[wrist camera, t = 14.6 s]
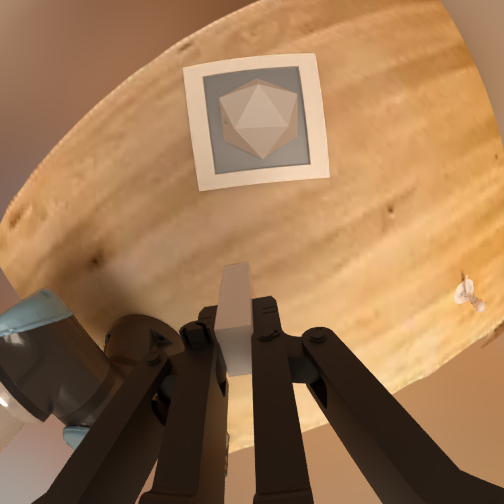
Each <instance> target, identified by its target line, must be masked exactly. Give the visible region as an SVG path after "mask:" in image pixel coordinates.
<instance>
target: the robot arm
mask: <svg viewBox="0 0 504 504" xmlns="http://www.w3.org/2000/svg"><path fill="white" fill-rule="evenodd" d="M73 314H74V312H73V311H72V310H70V309H69V308H68V307H67V306H66V304H65V303H64V302H63V301H62V299H61V298H60V297H59V295H58V294H57V293H56V292H55V291H54V290H52V289H49V288H42V289H40V290H38V291H36V292H35V293H33V294H31V295H30V296H28V297H27V298H25V299H23V300H22V301H20V302H19V303H17V304H16V305H14V306H13V307H11V308H10V309H8V310H7V311H5V312H4V313H2V314H1V315H0V453H1V452H2V451H3V449H4V448H5V447H6V446H7V444H8V443H9V442H10V441H11V440H12V439H13V437H14V436H15V435H16V434H17V433H18V431H19V430H20V429H21V428H22V427H23V426H24V424H25V423H27V422H32V423H43V422H45V420H46V419H47V418H48V417H49V416H50V415H51V414H54V415H55V416H56V417H57V418H58V419H59V420H60V421H62V422H63V423H64V424H65V426H66V427H65V428H64V429H63V439H64V440H65V441H66V443H67V444H68V445H69V446H70V447H71V448H72V449H74V450H75V451H74V453H73V454H72V455H71V457H70V458H69V460H68V461H67V463H66V464H65V466H64V467H63V469H62V470H61V472H60V473H59V474H58V476H57V478H56V479H55V481H54V482H53V484H52V485H51V486H50V488H49V490H48V491H47V493H45V494H44V495H42V496H41V497H40V498H38V499H37V500H35V501H34V502H33V503H32V504H135V502H136V500H137V498H138V496H139V494H140V492H141V490H142V488H143V486H144V484H145V482H146V480H147V478H148V476H149V474H150V473H151V470H152V469H153V467H154V464H155V463H156V461H157V459H158V462H157V467H156V471H155V476H154V481H153V486H152V489H151V490H150V491H148V492H145V493H143V494H142V495H141V497H140V500H139V503H138V504H224V491H225V490H224V489H225V460H226V433H227V410H228V388H229V384H228V381H227V378H226V371H227V372H228V375H229V377H231V376H239V375H247V374H252V387H253V417H254V446H255V473H256V494H255V495H254V498H253V504H314V501H313V495H312V490H311V487H310V481H309V475H308V469H307V463H306V457H305V452H304V446H303V440H302V434H301V429H300V423H299V417H298V412H297V406H296V401H295V395H294V390H293V384H292V383H306V386H307V388H308V389H309V391H310V393H311V394H312V396H313V397H314V399H315V401H316V402H317V404H318V405H319V407H320V409H321V410H322V412H323V413H324V415H325V416H326V418H327V420H328V421H329V423H330V424H331V426H332V427H333V429H334V430H335V432H336V434H337V435H338V437H339V438H340V440H341V441H342V443H343V445H344V446H345V448H346V449H347V451H348V452H349V454H350V455H351V457H352V458H353V460H354V461H355V463H356V464H357V466H358V467H359V469H360V470H361V472H362V473H363V475H364V476H365V478H366V479H367V481H368V483H369V484H370V485H371V487H372V488H373V490H374V491H375V493H376V494H377V496H378V497H379V498H380V500H381V502H382V503H383V504H504V488H502V487H499V486H497V485H494V484H491V483H489V482H487V481H484V480H481V479H479V478H477V477H475V476H473V475H470V474H468V473H466V472H464V471H461V470H459V468H458V467H457V466H456V465H455V464H454V463H453V462H452V461H451V459H450V458H449V457H448V456H447V455H446V454H445V453H444V452H443V451H442V450H441V449H440V447H439V446H438V445H437V444H436V443H435V442H434V441H433V440H432V439H431V437H430V436H429V435H428V434H427V433H426V432H425V431H424V430H423V429H422V428H421V426H420V425H419V424H418V423H417V422H416V421H415V420H414V419H413V418H412V417H411V416H410V415H409V413H408V412H407V411H406V410H405V409H404V408H403V407H402V406H401V405H400V404H399V403H398V401H397V400H396V399H395V398H394V397H393V396H392V395H391V394H390V393H389V392H388V390H387V389H386V388H385V387H384V386H383V385H382V384H381V383H380V382H379V381H378V380H377V379H376V377H375V376H374V375H373V374H372V373H371V372H370V371H369V370H368V369H367V368H366V367H365V366H364V364H363V363H362V362H361V361H360V360H359V359H358V358H357V357H356V356H355V355H354V354H353V353H352V351H351V350H350V349H349V348H348V347H347V346H346V345H345V344H344V343H343V342H342V341H341V340H340V339H339V337H338V336H337V335H336V334H335V333H334V332H333V331H332V330H330V329H329V328H325V327H314V328H310V329H309V330H307V331H305V332H304V333H303V334H302V337H296V336H290V335H288V334H286V333H284V332H283V330H282V328H281V323H280V318H279V313H278V307H277V302H276V300H275V299H274V298H273V297H272V296H267V297H261V298H256V296H255V291H254V286H253V281H252V276H251V271H250V266H249V262H244V263H238V264H233V265H227V266H224V270H223V276H222V282H221V288H220V295H219V301H218V305H215V306H209V307H204V308H203V309H202V310H201V312H200V313H199V316H198V320H197V321H193V322H189V323H187V324H185V325H184V326H183V327H181V329H180V330H179V333H180V335H181V337H180V336H179V335H178V334H177V333H176V332H175V331H174V330H173V329H172V328H170V327H169V326H168V325H166V324H164V323H163V322H161V321H159V320H156V319H154V318H151V317H148V316H143V315H128V316H125V317H122V318H120V319H118V320H117V321H116V322H115V323H114V324H113V325H112V327H111V328H110V330H109V331H108V333H107V336H106V339H105V346H104V352H103V351H102V350H101V349H100V348H99V347H98V346H97V344H96V343H95V342H94V341H93V340H92V338H91V337H90V336H89V335H88V333H87V332H86V331H85V330H84V328H83V327H82V326H81V324H80V323H79V322H78V320H77V319H76V318H75V316H74V315H73Z"/></svg>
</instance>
